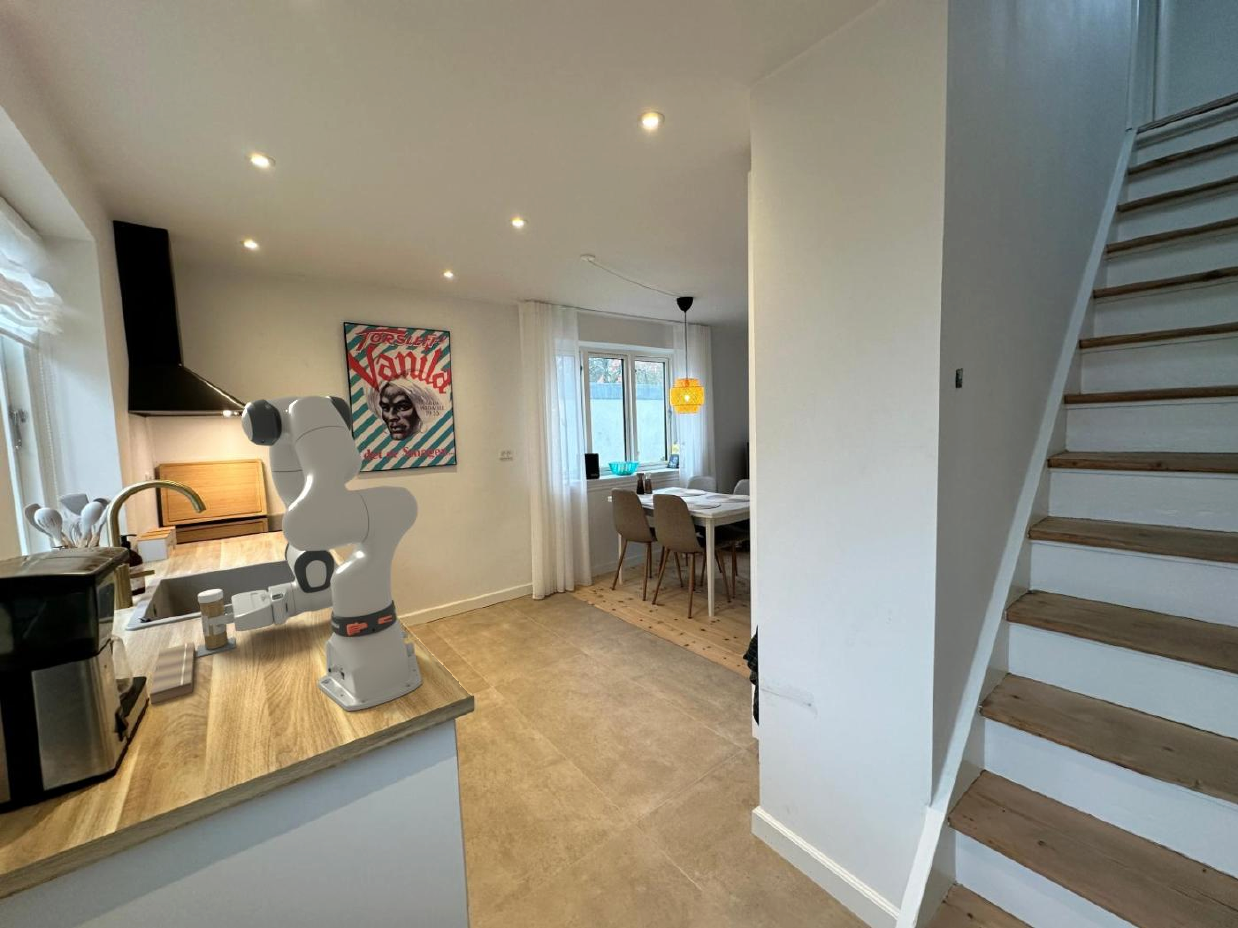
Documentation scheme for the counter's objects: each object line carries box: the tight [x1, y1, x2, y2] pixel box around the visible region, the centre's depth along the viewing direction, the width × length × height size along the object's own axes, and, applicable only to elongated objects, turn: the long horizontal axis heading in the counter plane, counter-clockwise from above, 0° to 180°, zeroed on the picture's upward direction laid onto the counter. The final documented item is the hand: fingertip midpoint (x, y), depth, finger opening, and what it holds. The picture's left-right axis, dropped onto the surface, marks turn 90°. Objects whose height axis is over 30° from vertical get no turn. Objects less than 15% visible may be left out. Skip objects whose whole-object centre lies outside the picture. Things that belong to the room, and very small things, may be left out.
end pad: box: [196, 636, 237, 658], centre depth 118 cm, size 7×7×1 cm
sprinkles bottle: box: [197, 588, 229, 649], centre depth 117 cm, size 5×5×13 cm
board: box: [149, 641, 196, 705], centre depth 106 cm, size 24×6×2 cm, turn 40°
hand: (208, 618), depth 116 cm, fingers closed on sprinkles bottle, 4 cm apart
